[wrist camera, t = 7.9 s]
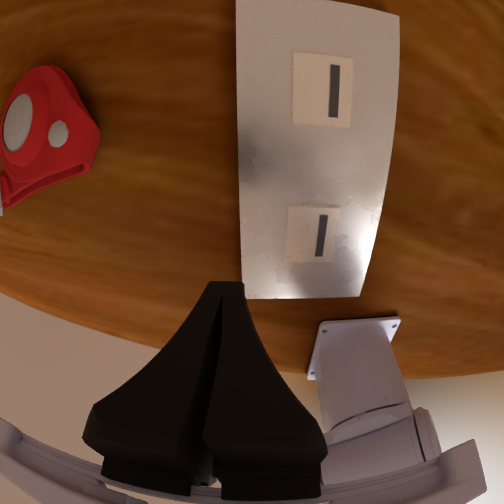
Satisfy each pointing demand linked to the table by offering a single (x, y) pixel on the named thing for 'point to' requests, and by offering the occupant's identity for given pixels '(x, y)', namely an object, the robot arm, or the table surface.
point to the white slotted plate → (312, 142)
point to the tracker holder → (44, 135)
